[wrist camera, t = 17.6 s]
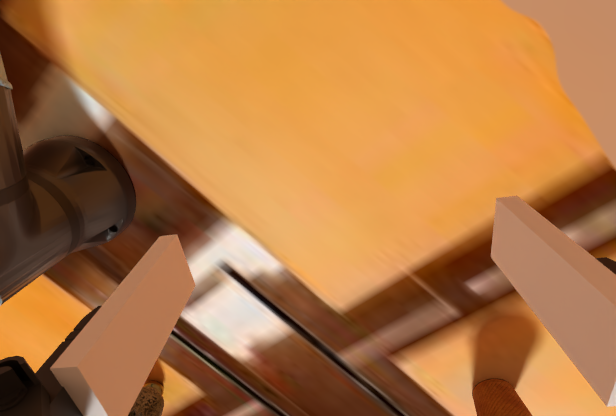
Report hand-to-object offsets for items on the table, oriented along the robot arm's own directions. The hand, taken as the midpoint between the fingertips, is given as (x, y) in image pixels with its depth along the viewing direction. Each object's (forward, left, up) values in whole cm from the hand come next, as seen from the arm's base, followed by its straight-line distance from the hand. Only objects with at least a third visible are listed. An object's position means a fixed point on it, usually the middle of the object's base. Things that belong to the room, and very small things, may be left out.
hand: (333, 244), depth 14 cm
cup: (-36, -44, -29) cm, 64 cm away
